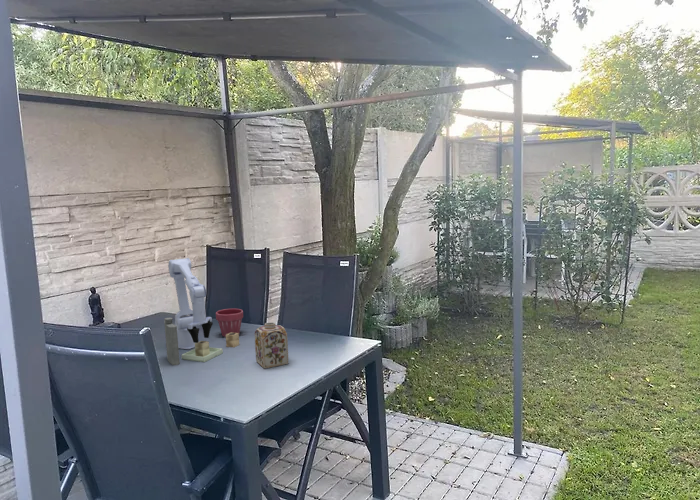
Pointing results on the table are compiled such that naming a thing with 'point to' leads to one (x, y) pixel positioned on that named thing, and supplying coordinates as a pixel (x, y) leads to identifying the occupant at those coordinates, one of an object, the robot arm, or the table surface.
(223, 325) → the plant pot
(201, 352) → the birch block
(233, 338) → the oak block
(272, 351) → the decorative jar
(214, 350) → the tray
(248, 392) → the table surface
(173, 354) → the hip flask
